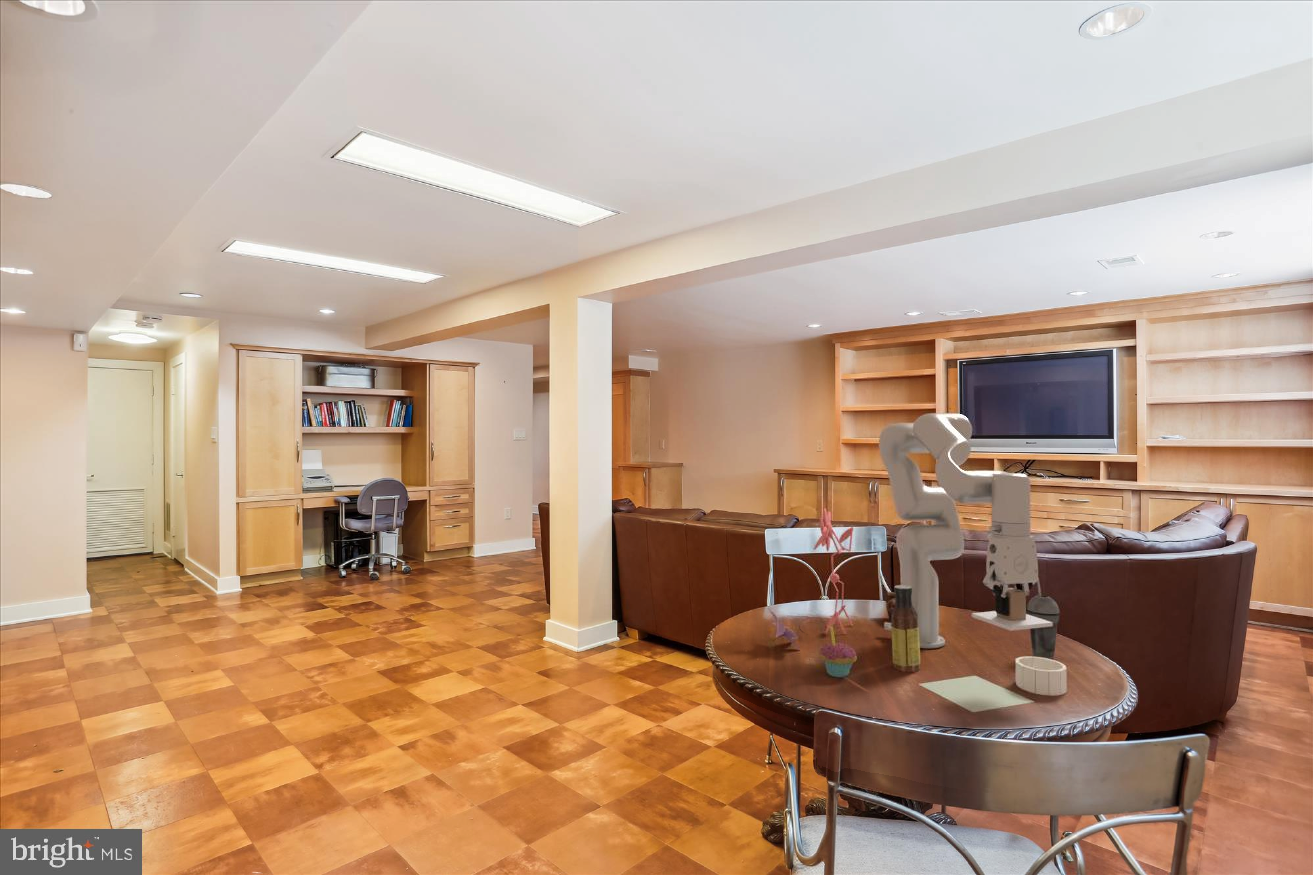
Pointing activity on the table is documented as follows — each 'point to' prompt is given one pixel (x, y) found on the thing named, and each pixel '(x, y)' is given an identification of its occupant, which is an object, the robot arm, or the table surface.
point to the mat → (975, 693)
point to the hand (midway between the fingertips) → (1011, 612)
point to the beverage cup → (1043, 636)
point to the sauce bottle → (905, 631)
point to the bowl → (1041, 675)
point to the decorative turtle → (890, 602)
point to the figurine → (825, 540)
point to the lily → (783, 631)
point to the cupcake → (837, 657)
